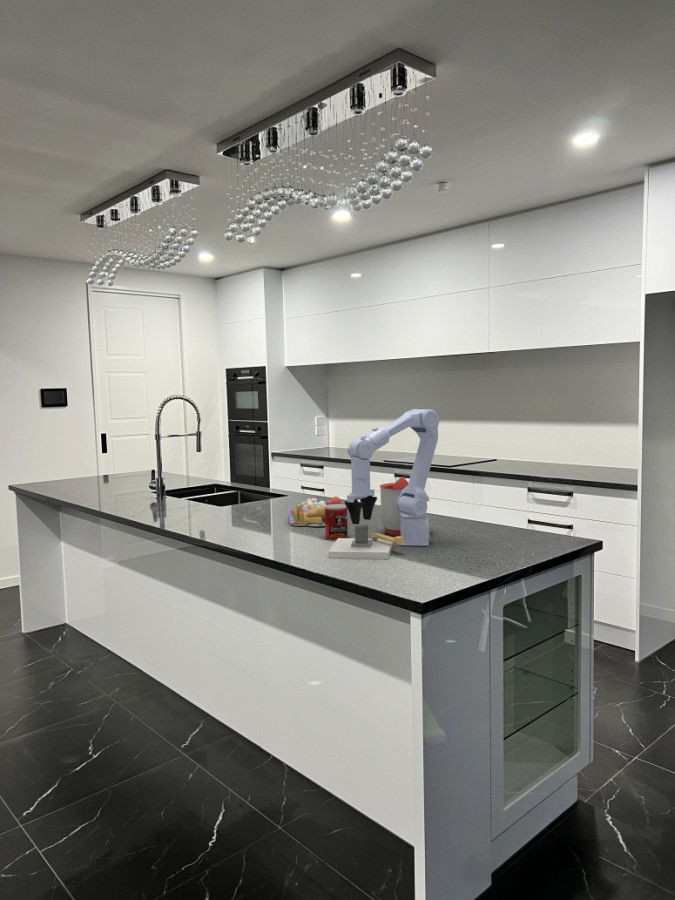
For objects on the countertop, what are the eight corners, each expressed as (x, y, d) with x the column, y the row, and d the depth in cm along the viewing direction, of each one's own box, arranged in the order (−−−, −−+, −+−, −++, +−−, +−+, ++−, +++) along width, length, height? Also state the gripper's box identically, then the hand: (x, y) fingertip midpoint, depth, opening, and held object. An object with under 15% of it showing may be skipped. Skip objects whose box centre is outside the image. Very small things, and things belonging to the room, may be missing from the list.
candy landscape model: (347, 528, 247) (347, 503, 246) (284, 529, 247) (283, 504, 247) (347, 515, 272) (347, 493, 271) (289, 516, 272) (289, 494, 272)
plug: (372, 548, 212) (372, 524, 212) (370, 552, 207) (370, 528, 206) (353, 547, 213) (353, 524, 213) (351, 552, 207) (350, 528, 207)
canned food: (328, 540, 226) (328, 508, 225) (323, 536, 233) (322, 504, 232) (350, 539, 228) (350, 507, 227) (344, 534, 235) (343, 503, 234)
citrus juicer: (428, 539, 225) (428, 480, 224) (377, 537, 229) (376, 479, 227) (431, 529, 241) (431, 474, 239) (383, 528, 244) (382, 473, 242)
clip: (375, 538, 218) (374, 529, 217) (403, 547, 205) (403, 537, 205) (369, 539, 216) (369, 529, 216) (398, 548, 204) (398, 538, 204)
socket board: (392, 545, 217) (392, 539, 217) (388, 559, 200) (388, 552, 200) (337, 544, 220) (337, 538, 220) (328, 557, 203) (328, 551, 202)
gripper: (361, 482, 200) (361, 527, 201) (382, 476, 212) (383, 518, 213) (340, 480, 203) (341, 525, 204) (363, 475, 216) (363, 516, 217)
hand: (361, 521), depth 209 cm, fingers open, 7 cm apart
